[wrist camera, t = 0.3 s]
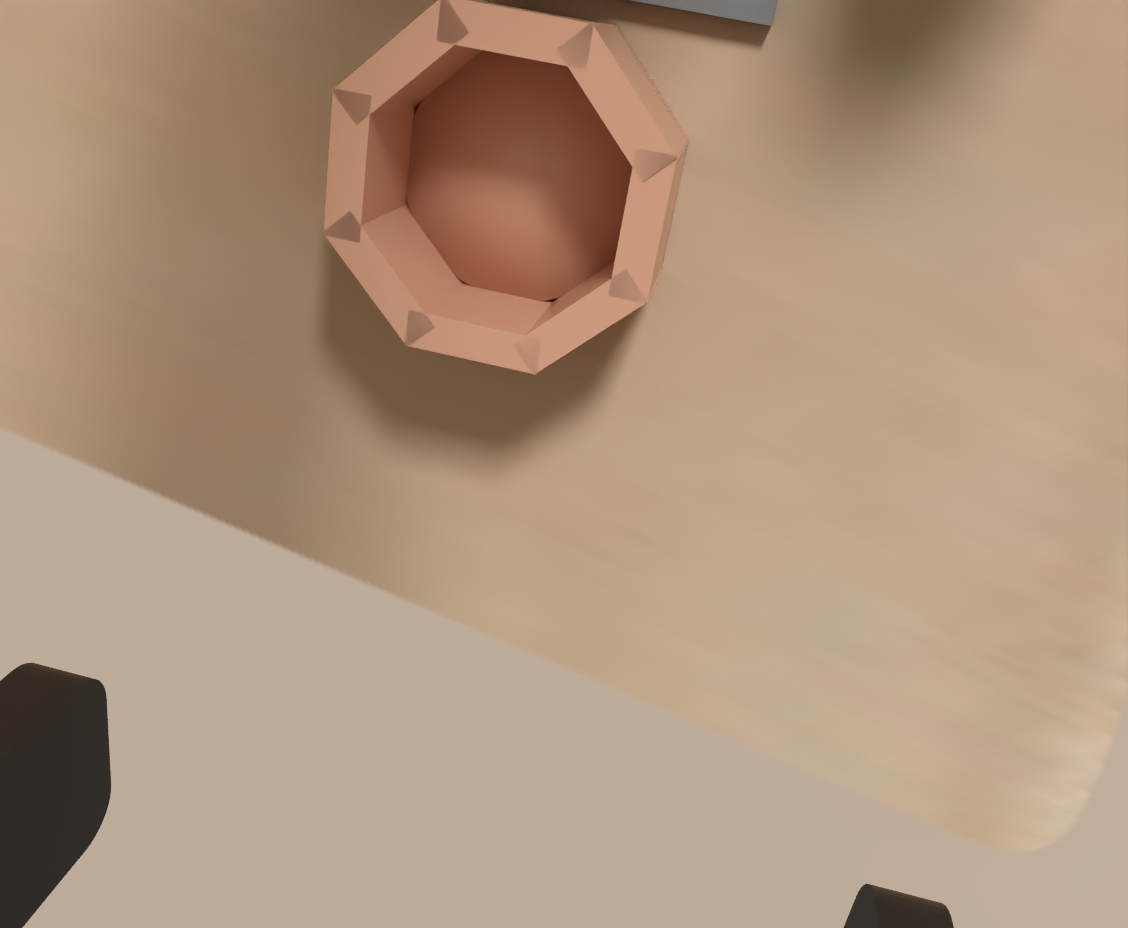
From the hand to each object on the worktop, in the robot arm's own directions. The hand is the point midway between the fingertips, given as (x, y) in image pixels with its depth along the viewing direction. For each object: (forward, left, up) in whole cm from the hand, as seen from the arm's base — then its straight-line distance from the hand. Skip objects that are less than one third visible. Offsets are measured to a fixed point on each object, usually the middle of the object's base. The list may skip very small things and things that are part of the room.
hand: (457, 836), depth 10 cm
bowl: (-2, -6, -27) cm, 28 cm away
